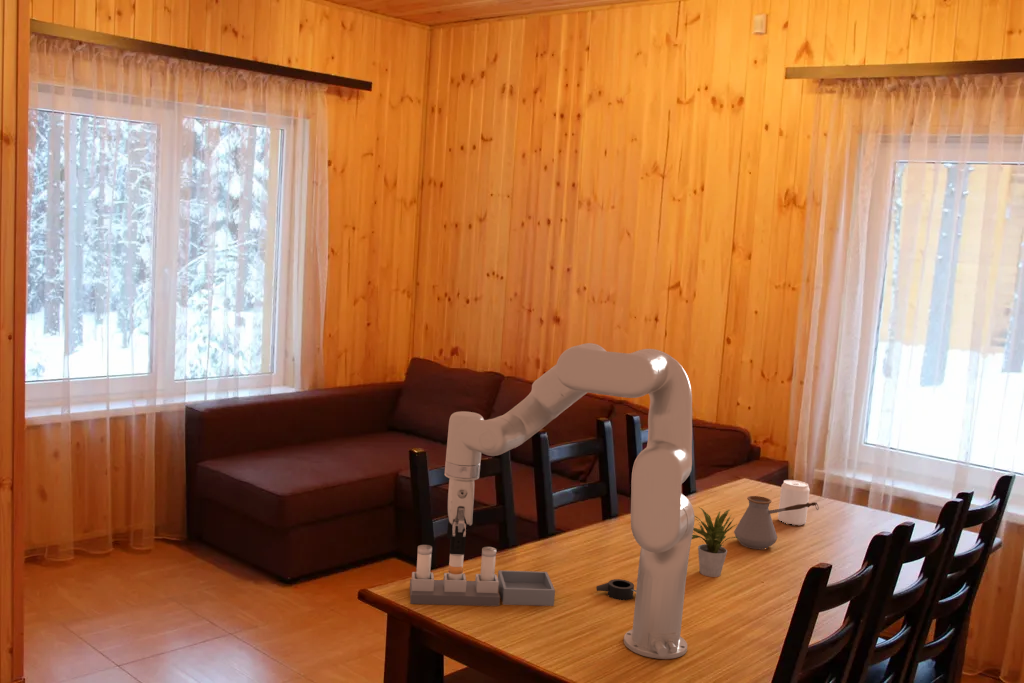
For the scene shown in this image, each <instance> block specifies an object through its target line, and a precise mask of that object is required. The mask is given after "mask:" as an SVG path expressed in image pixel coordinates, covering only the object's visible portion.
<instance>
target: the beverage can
mask: <svg viewBox="0 0 1024 683" xmlns="http://www.w3.org/2000/svg"><path fill="white" fill-rule="evenodd" d="M810 491H811V490H810V486H809V483H807V482H804V481H801V480H794V479H785V480H783V483H782V484H781V488H780V495H779V503H778V504H779V505H778V509H781V508H786V507H790V506H794V505H798V504H807V503H809V499H810ZM808 509H809V507H804V508H801V509H796V510H788V511H781V512H777V514H778V515H777V519H778V521H780V522H781V521H782V522H781V523H783V522H784V523H783V524H785V523H787V524H786V525H788V524H792V525H791V526H795V525H798V526H802V525H805V524H806V523H807V517H808V516H807V515H808Z"/></svg>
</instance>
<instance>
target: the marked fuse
mask: <svg viewBox="0 0 1024 683" xmlns="http://www.w3.org/2000/svg"><path fill="white" fill-rule="evenodd" d="M464 557H465V554H463V555H459V554H450V553H449V561H448V562H449V563H448V572H447V573H449V575H448V580H462V573H463V572H464V559H465V558H464Z"/></svg>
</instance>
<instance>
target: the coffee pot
mask: <svg viewBox="0 0 1024 683" xmlns="http://www.w3.org/2000/svg"><path fill="white" fill-rule="evenodd" d="M747 500H748V507H747V508H746V510H745V511H744V514H743V515H742V517H741V519H740V520H739V522H738V524H737V525H736V527H735V529H734V530H733V533H734V537H738V538H739V539H738V538H736V539H737V541H739V543H740V545H742V546H743V547H746V548H750V549H754V550H766V549H765V548H767V549H769V548H770V547H771V546H774V544H775V543H776V542H777V539H778V535H777V532H776V528H775V525H774V523H773V519H772V516H771V514H778V512H781V511H788V510H796V509H801V508H804V507H808V508H810V507H815V509H816V511H819V508H820V507H819V504H818V502H817V501H816V502H810V503H809V502H808V503H807V504H798V505H794V506H790V507H786V508H781V509H779V508H776V509H769V506H770V505H771V504H772V503H773V502H772V499H770V498H768V497H765V496H759V495H749V496H747ZM768 547H769V548H768Z"/></svg>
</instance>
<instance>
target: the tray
mask: <svg viewBox="0 0 1024 683" xmlns="http://www.w3.org/2000/svg"><path fill="white" fill-rule="evenodd" d="M497 578H498V581H499V585H498V592H499V596H500V599H501V603H502V605H510V606H541V607H542V606H547V607H548V606H549V607H550V606H551V607H552V606H553V607H554V606H555V596H556V595H555V594H556V589H555V587H554V584H553V582H552V580H551V578H550V576H549V573H548V571H536V570H535V571H532V570H531V571H529V570H500V569H498V571H497Z"/></svg>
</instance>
